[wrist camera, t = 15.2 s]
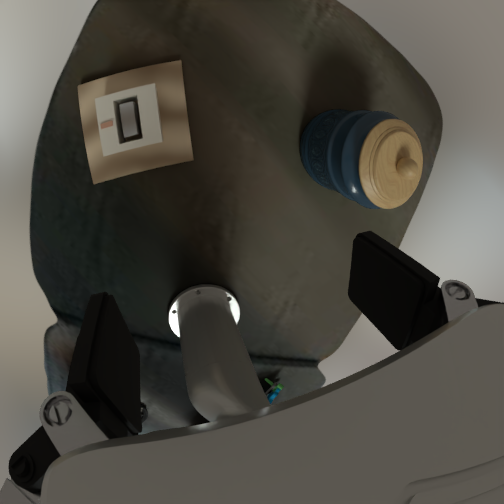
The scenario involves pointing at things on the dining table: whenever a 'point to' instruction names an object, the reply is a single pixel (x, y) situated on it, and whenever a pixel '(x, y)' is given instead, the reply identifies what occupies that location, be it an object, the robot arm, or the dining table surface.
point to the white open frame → (112, 121)
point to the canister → (363, 156)
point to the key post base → (167, 116)
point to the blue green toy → (275, 390)
